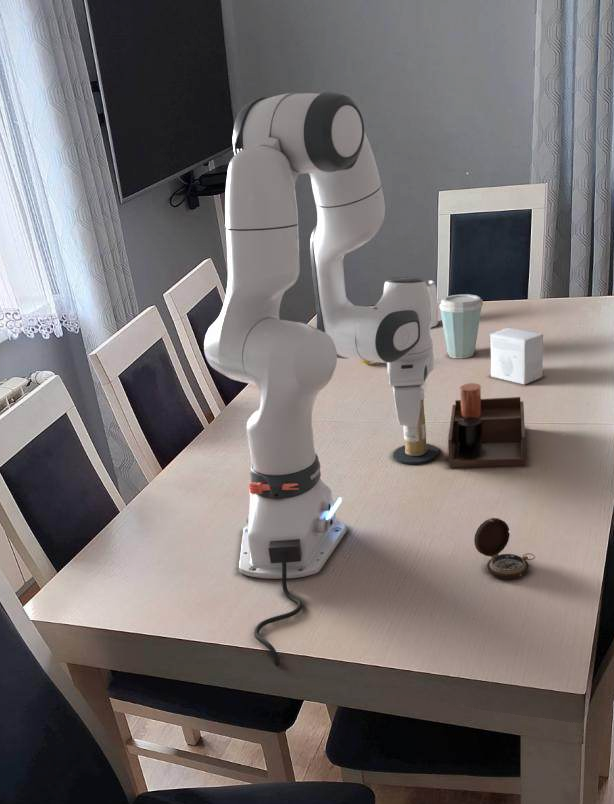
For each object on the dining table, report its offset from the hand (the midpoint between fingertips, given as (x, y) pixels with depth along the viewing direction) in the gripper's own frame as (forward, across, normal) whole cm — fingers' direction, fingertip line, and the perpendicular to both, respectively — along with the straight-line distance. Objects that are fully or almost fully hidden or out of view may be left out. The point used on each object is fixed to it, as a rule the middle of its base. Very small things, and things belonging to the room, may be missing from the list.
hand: (414, 428), depth 174 cm
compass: (+6, +42, +18) cm, 46 cm away
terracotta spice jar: (+1, -8, +11) cm, 13 cm away
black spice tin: (+6, +1, +11) cm, 12 cm away
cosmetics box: (+6, -41, +20) cm, 46 cm away
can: (+6, -86, -4) cm, 86 cm away
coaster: (+6, 0, 0) cm, 6 cm away
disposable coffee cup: (+6, -59, +7) cm, 60 cm away
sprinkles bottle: (+6, 0, 0) cm, 6 cm away
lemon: (+6, -56, -17) cm, 59 cm away
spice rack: (+6, -2, +14) cm, 15 cm away
